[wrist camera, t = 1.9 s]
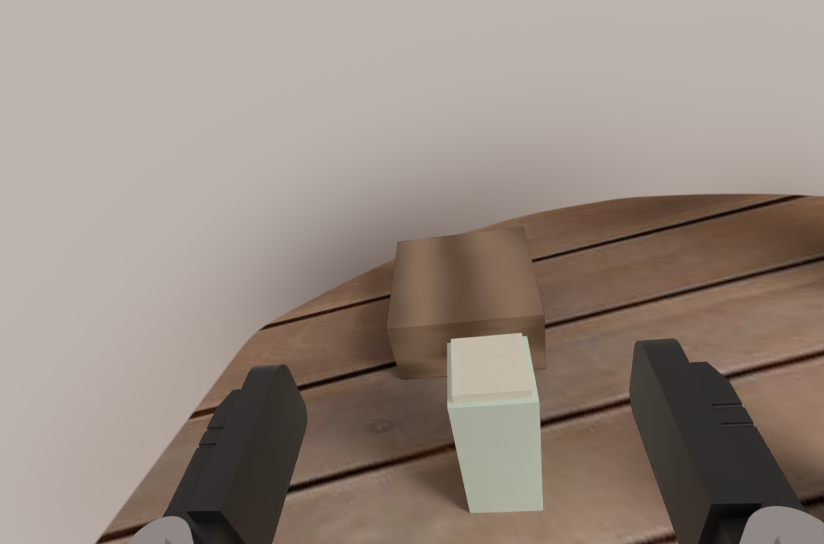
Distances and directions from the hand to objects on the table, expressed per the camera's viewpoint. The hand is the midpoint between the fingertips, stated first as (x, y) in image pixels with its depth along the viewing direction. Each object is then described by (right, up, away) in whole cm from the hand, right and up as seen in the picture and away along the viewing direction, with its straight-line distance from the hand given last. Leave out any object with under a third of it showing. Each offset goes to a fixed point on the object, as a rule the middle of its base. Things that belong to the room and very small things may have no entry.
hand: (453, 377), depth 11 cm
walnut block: (+4, -2, +34) cm, 34 cm away
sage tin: (+5, -11, +21) cm, 25 cm away
